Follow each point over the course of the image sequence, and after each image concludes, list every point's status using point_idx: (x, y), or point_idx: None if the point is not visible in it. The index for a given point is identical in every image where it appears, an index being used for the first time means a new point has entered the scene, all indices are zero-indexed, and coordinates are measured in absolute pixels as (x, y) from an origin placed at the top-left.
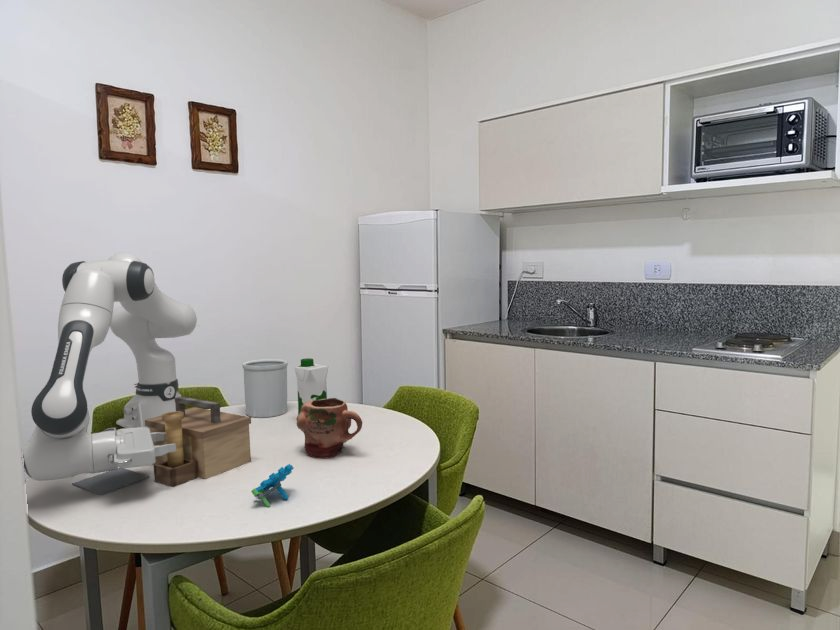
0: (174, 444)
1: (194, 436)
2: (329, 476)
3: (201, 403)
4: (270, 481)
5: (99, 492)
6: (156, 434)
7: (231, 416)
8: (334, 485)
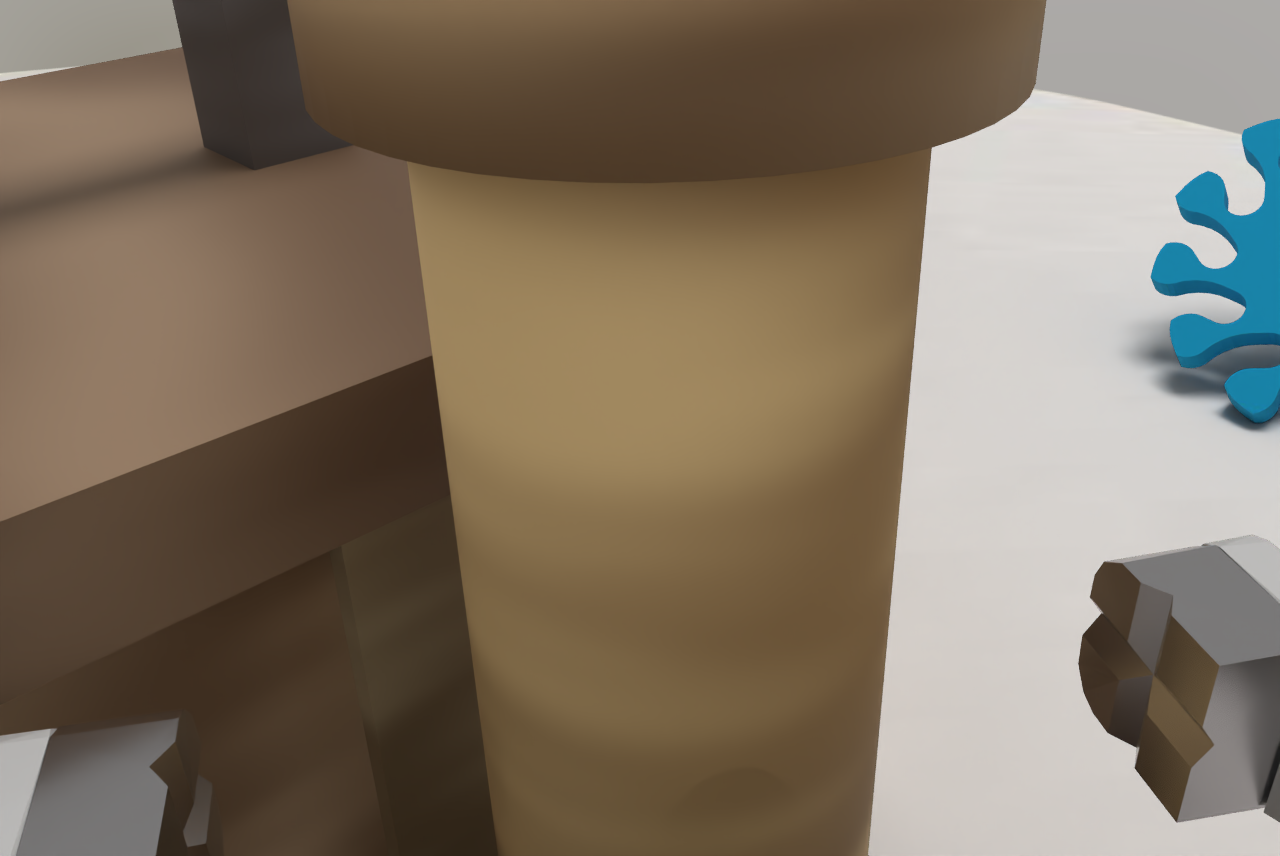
0: (1264, 546)
1: None
2: (925, 227)
3: None
4: None
5: None
6: None
7: (83, 90)
8: (1082, 218)
